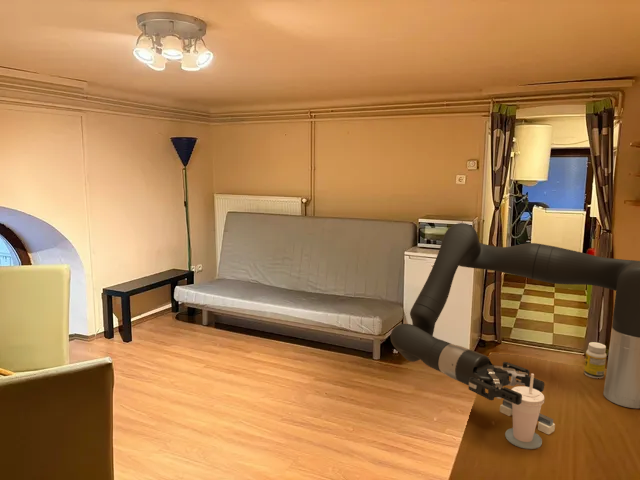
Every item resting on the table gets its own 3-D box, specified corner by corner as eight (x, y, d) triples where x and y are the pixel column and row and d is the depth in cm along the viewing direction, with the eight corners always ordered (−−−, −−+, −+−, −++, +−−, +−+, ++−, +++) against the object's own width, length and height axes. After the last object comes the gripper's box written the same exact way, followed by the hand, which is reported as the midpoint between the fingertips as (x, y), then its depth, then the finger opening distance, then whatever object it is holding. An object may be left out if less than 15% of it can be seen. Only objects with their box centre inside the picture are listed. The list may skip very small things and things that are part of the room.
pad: (510, 425, 106) (510, 423, 106) (545, 436, 102) (545, 435, 102) (500, 440, 101) (501, 439, 101) (537, 453, 97) (537, 451, 97)
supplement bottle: (585, 369, 134) (588, 340, 132) (604, 374, 131) (608, 344, 130) (582, 375, 130) (585, 345, 128) (602, 380, 127) (606, 350, 126)
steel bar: (502, 404, 112) (502, 399, 112) (505, 403, 112) (505, 398, 112) (549, 426, 103) (550, 421, 103) (552, 424, 104) (553, 419, 104)
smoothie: (543, 448, 98) (550, 383, 95) (509, 443, 99) (515, 379, 96) (535, 429, 104) (542, 368, 101) (503, 426, 105) (510, 365, 102)
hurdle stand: (499, 411, 112) (500, 405, 112) (505, 408, 113) (506, 401, 113) (548, 434, 103) (549, 427, 103) (554, 430, 104) (555, 423, 104)
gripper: (445, 357, 106) (514, 386, 94) (483, 342, 115) (552, 366, 102) (443, 389, 108) (511, 422, 95) (481, 372, 116) (548, 399, 104)
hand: (532, 393), depth 99 cm, fingers open, 8 cm apart
